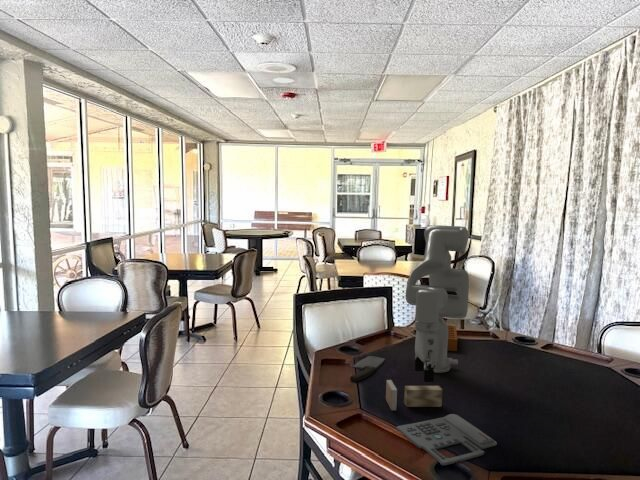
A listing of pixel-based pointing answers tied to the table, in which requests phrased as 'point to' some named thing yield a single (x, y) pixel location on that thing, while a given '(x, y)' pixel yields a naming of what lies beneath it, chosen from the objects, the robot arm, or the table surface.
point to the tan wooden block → (423, 396)
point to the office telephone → (447, 437)
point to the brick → (452, 338)
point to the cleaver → (366, 367)
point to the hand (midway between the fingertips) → (423, 376)
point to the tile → (391, 394)
